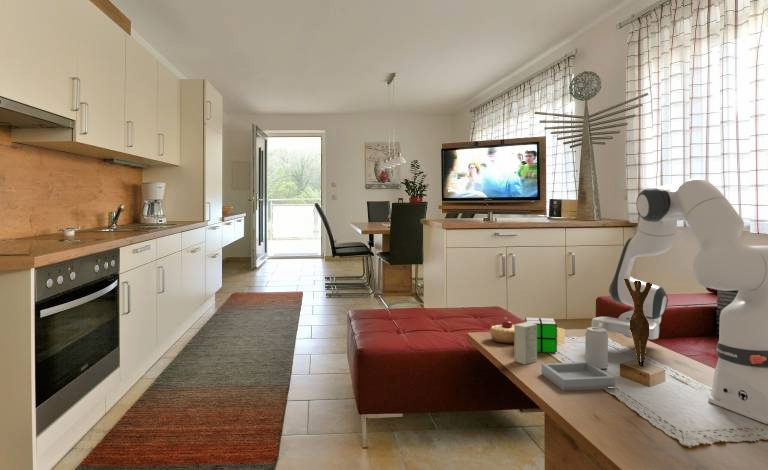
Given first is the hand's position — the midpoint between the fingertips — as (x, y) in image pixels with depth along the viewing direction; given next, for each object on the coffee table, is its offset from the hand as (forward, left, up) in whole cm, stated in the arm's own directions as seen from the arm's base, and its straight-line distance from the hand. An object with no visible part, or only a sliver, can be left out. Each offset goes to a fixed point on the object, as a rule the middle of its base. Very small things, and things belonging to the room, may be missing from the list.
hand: (613, 331), depth 163 cm
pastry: (+28, +26, -9) cm, 39 cm away
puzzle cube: (+16, +18, -9) cm, 26 cm away
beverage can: (-7, +10, -9) cm, 16 cm away
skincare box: (+2, +29, -9) cm, 30 cm away
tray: (-18, +22, -9) cm, 30 cm away
